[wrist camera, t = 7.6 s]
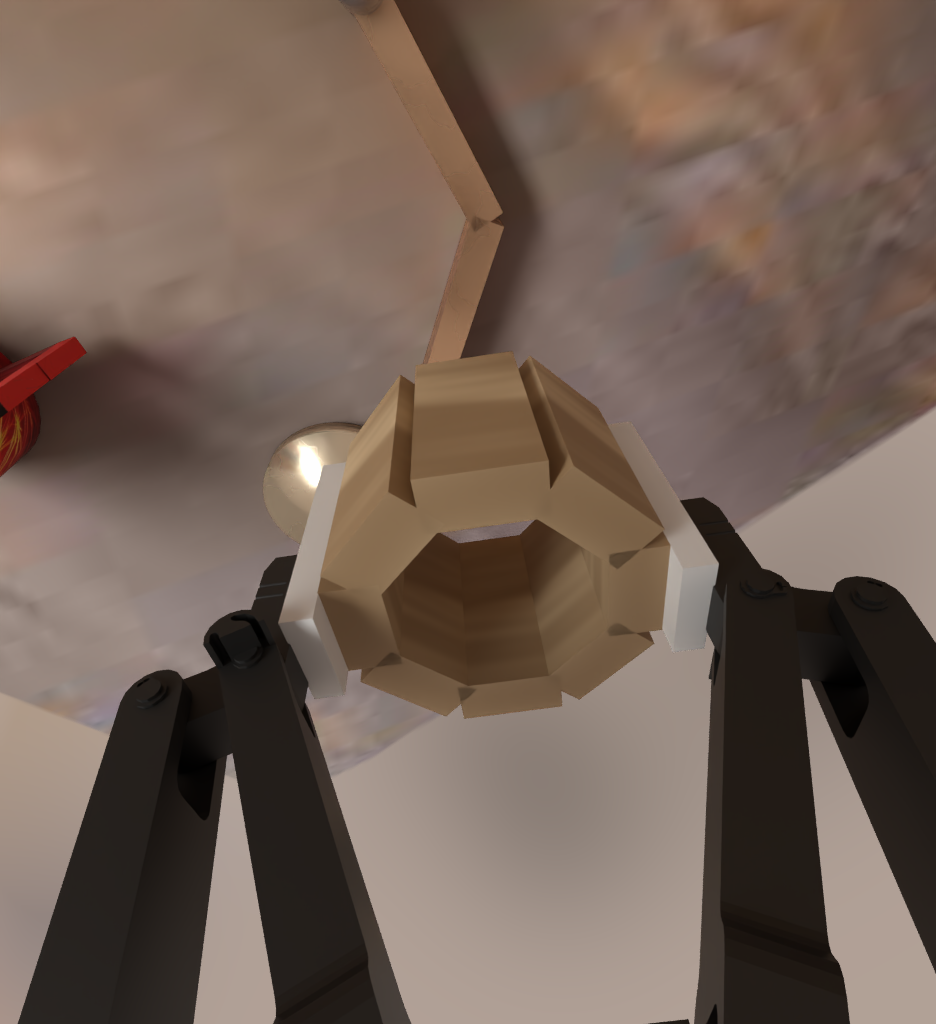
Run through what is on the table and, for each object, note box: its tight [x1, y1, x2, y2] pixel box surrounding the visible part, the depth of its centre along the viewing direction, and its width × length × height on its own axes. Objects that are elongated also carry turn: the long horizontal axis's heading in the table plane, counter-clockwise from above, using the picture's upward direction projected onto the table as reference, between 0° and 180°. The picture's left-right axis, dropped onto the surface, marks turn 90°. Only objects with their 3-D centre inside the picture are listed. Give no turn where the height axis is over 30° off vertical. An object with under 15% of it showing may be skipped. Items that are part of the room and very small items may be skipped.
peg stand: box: [263, 422, 363, 544], centre depth 35 cm, size 10×10×9 cm
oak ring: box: [317, 351, 671, 719], centre depth 16 cm, size 8×8×6 cm
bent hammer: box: [339, 0, 504, 364], centre depth 26 cm, size 19×6×8 cm, turn 6°
